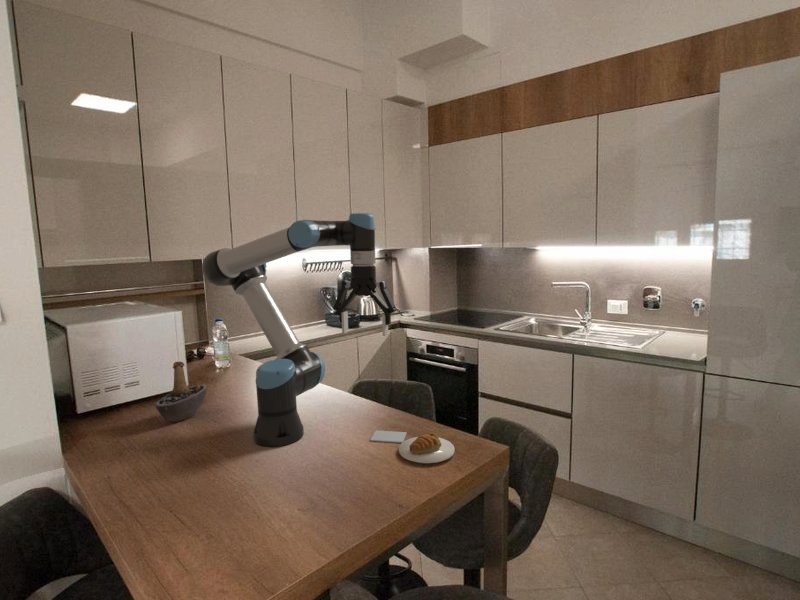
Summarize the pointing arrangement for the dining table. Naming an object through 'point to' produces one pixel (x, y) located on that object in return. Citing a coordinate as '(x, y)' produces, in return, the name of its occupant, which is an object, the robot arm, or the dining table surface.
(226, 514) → the dining table surface
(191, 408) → the planter
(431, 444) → the pastry
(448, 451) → the plate
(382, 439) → the napkin
